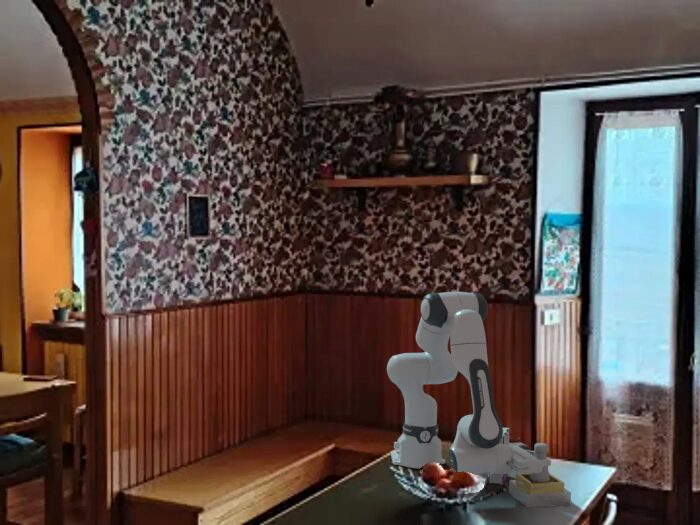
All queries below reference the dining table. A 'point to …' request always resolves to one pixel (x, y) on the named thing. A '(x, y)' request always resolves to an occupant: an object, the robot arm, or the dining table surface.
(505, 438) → the candy bar box
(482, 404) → the robot arm
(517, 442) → the food item
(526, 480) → the yellow and grey tray
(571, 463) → the dining table surface
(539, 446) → the salt shaker
